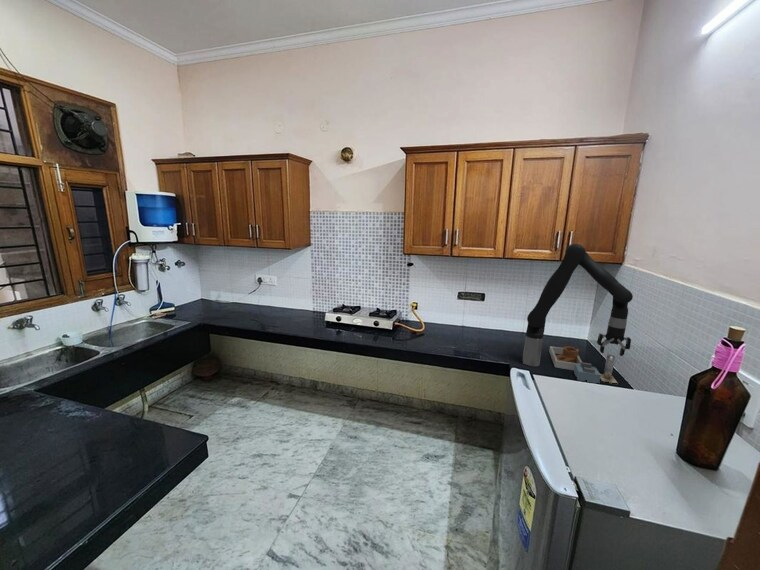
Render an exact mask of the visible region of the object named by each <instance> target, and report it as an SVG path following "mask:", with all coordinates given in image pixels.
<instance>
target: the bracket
mask: <svg viewBox="0 0 760 570" xmlns="http://www.w3.org/2000/svg"><path fill="white" fill-rule="evenodd" d="M562 348H563V354H557V355H556V357H557V360H558V361H564V362H571V363H576V359H577V356H579V354H580V353H579V352H580V350H579V349H578V348H575V347H573V346H563V347H562Z"/></svg>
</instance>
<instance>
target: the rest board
mask: <svg viewBox="0 0 760 570" xmlns="http://www.w3.org/2000/svg"><path fill="white" fill-rule="evenodd" d="M600 375H601V377H600V382H602V381H603V382H602V383H605V382H609V383H608V384H612V383H617V384H616V385H618V384H619V382H618V381H617V380H616V379H615V377H614V375H612V377H611V380H608V379H605V378H603V375H604V373H600Z"/></svg>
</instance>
